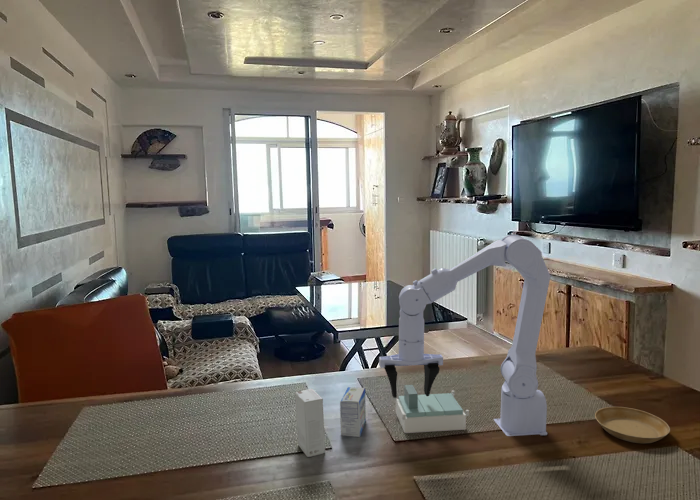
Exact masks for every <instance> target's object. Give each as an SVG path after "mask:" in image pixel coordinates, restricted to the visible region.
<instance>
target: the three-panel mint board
mask: <svg viewBox="0 0 700 500" xmlns="http://www.w3.org/2000/svg"><path fill="white" fill-rule="evenodd" d="M403 388H404V390H403V392H404V393H403V395H398V396H397V397H398V398H397V399H398V400H399V402H400V404H401V406H402V409H403V411H404V413H405V414H406V417H423V416H440V415H457V414H463V412H464V409H463V408H462V406H461V405H460V404H459V403H458V401H457V400H456V398H455V396H453V395H452V394H451V392H450V393H449V392H447V393H430V395H429V396H426V395H425V394H418V392H417V390H416V389H415V387H414V385H413V384H405V385H403Z"/></svg>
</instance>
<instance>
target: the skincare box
mask: <svg viewBox="0 0 700 500" xmlns="http://www.w3.org/2000/svg"><path fill="white" fill-rule="evenodd" d="M294 398H295V399H294V400H295V402H294V403H295V417H296V431H297V433H296V434H297V435H296V436H297V445H298V446H299V448H300V449H301V451H302V452H303V453H304V454H305V456H306V457H307V458H310V457H315V456H320V455H323V454H325V453H326V441H325V440H326V438H325V422H324V421H325V418H324V399H323V397H322V396H320V394H318V392H316V391H315V390H314V389H313V388H308V389H304V390H299V391H295V392H294Z"/></svg>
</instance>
